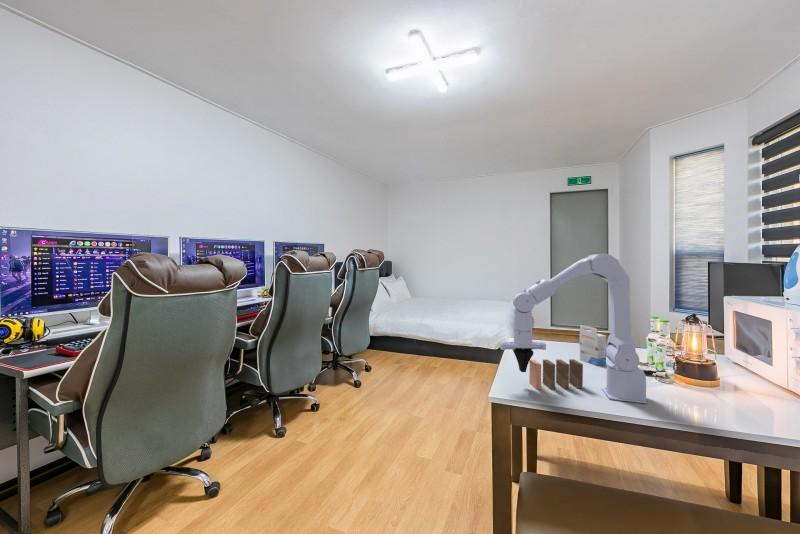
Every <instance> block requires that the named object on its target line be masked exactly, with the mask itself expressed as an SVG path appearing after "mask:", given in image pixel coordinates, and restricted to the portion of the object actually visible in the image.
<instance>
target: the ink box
mask: <svg viewBox="0 0 800 534" xmlns="http://www.w3.org/2000/svg"><path fill="white" fill-rule="evenodd" d="M579 327H580V328H579V361H582V362H585V363H588V364H591V365H594V366H596V367H600V366H604V365H606V366H607V357H606V355H605V352H604V350H605V347H606V345H607V335H605V334H601V333H598V330H599V329H598V328H596V327H593V326H587V325H584V324H583V325H582V324H580V326H579Z"/></svg>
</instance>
